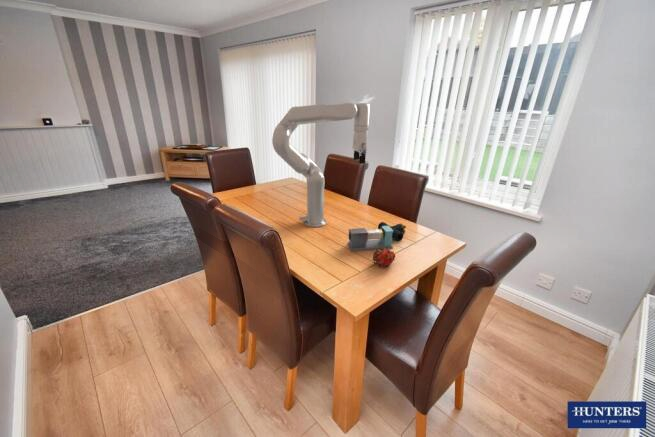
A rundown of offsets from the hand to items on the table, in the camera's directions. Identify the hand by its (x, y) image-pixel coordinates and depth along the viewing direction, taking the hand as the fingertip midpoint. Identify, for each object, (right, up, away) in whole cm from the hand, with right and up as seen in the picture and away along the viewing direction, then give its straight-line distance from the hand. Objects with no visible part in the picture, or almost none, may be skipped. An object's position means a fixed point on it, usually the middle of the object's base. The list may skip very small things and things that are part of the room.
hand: (359, 161), depth 150 cm
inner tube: (+2, -41, -15) cm, 44 cm away
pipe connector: (+19, -40, 0) cm, 45 cm away
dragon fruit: (+8, -52, -27) cm, 59 cm away
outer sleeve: (-3, -45, -15) cm, 47 cm away
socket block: (+12, -44, -12) cm, 47 cm away
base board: (+4, -45, -13) cm, 47 cm away
